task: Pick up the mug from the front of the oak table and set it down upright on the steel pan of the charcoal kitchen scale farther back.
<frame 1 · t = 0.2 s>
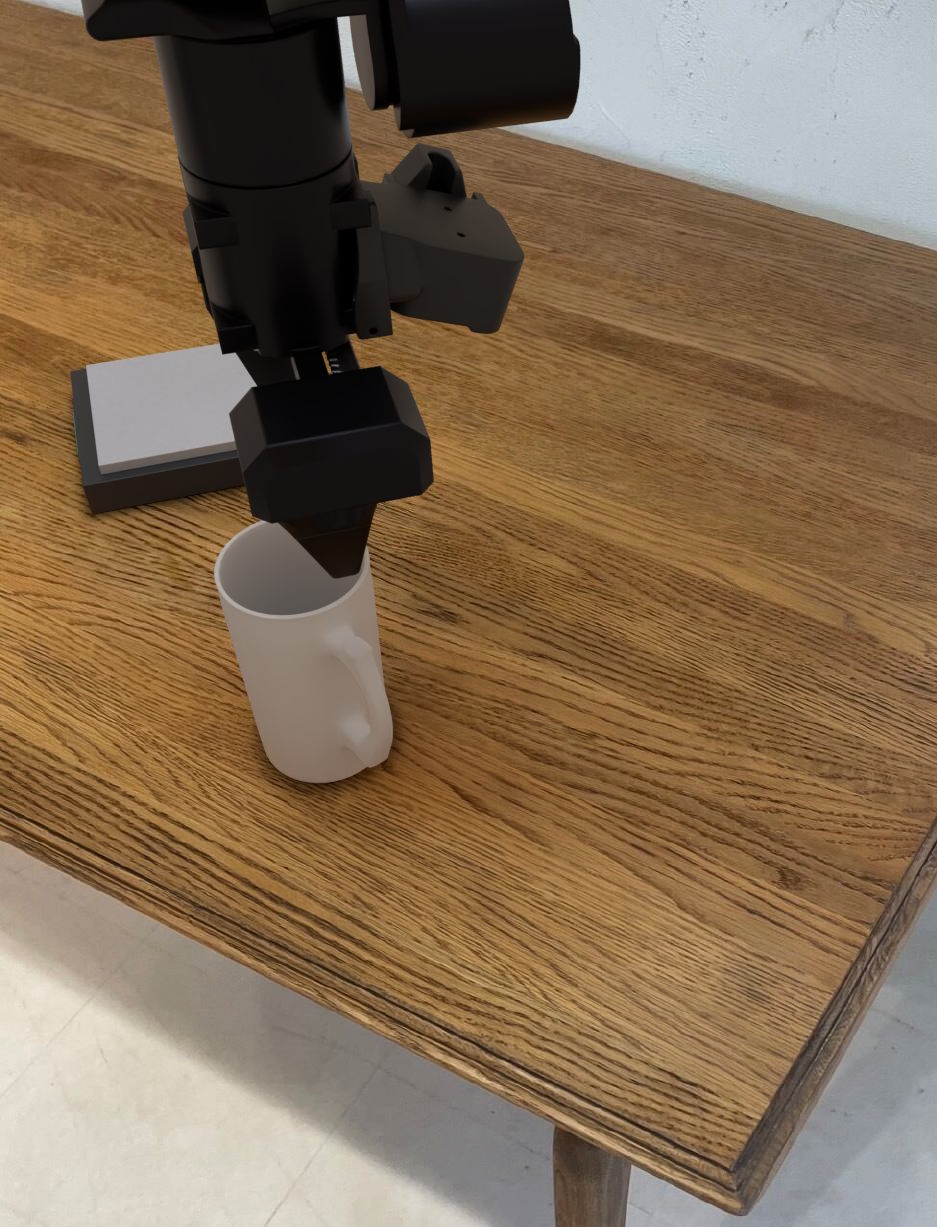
hand: (324, 502, 55), 16 cm above the table, tool pointing down, fingers open, 9 cm apart
scale: (184, 436, 82), on the table
mug: (344, 757, 65), on the table
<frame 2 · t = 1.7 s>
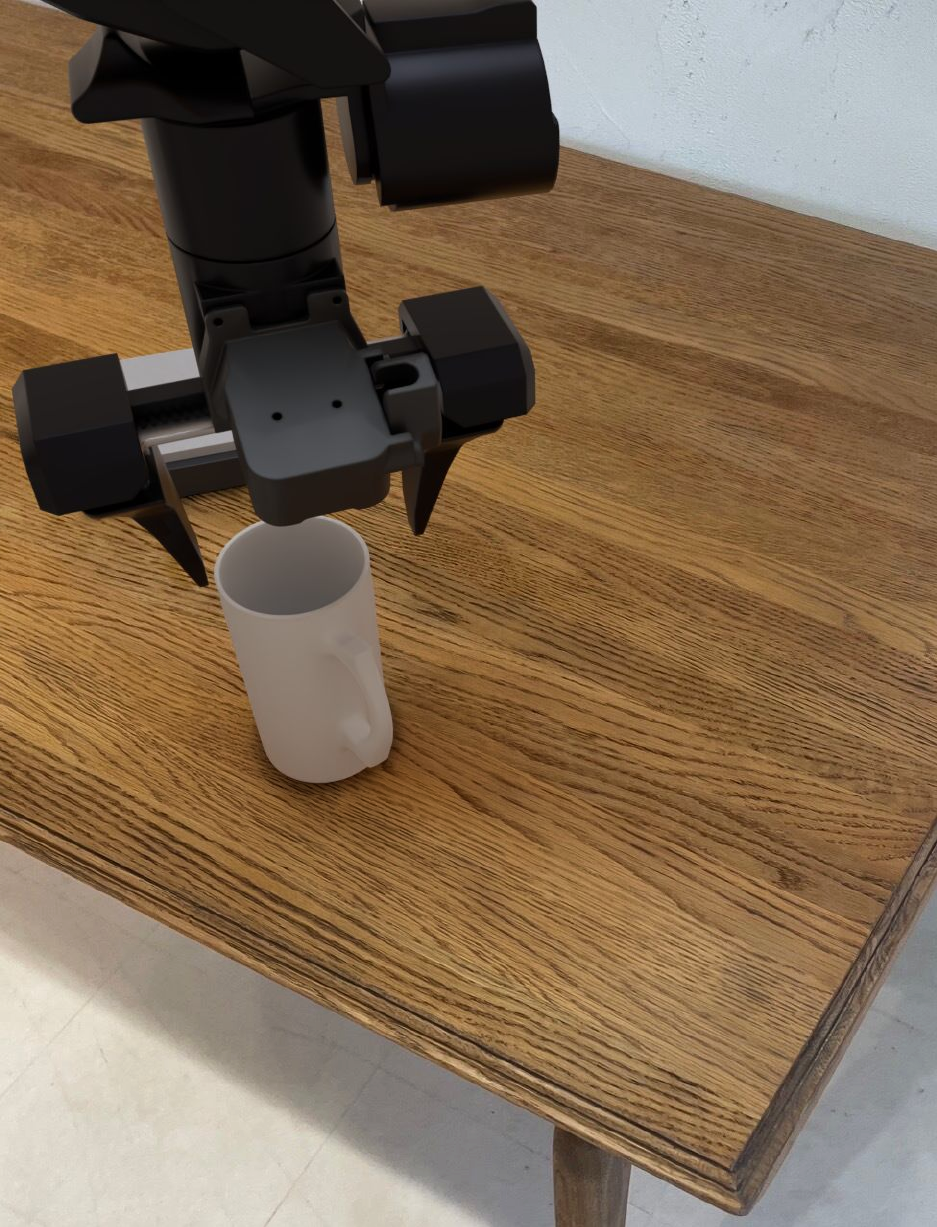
hand: (312, 554, 56), 13 cm above the table, tool pointing down, fingers open, 9 cm apart
nothing on the table moved.
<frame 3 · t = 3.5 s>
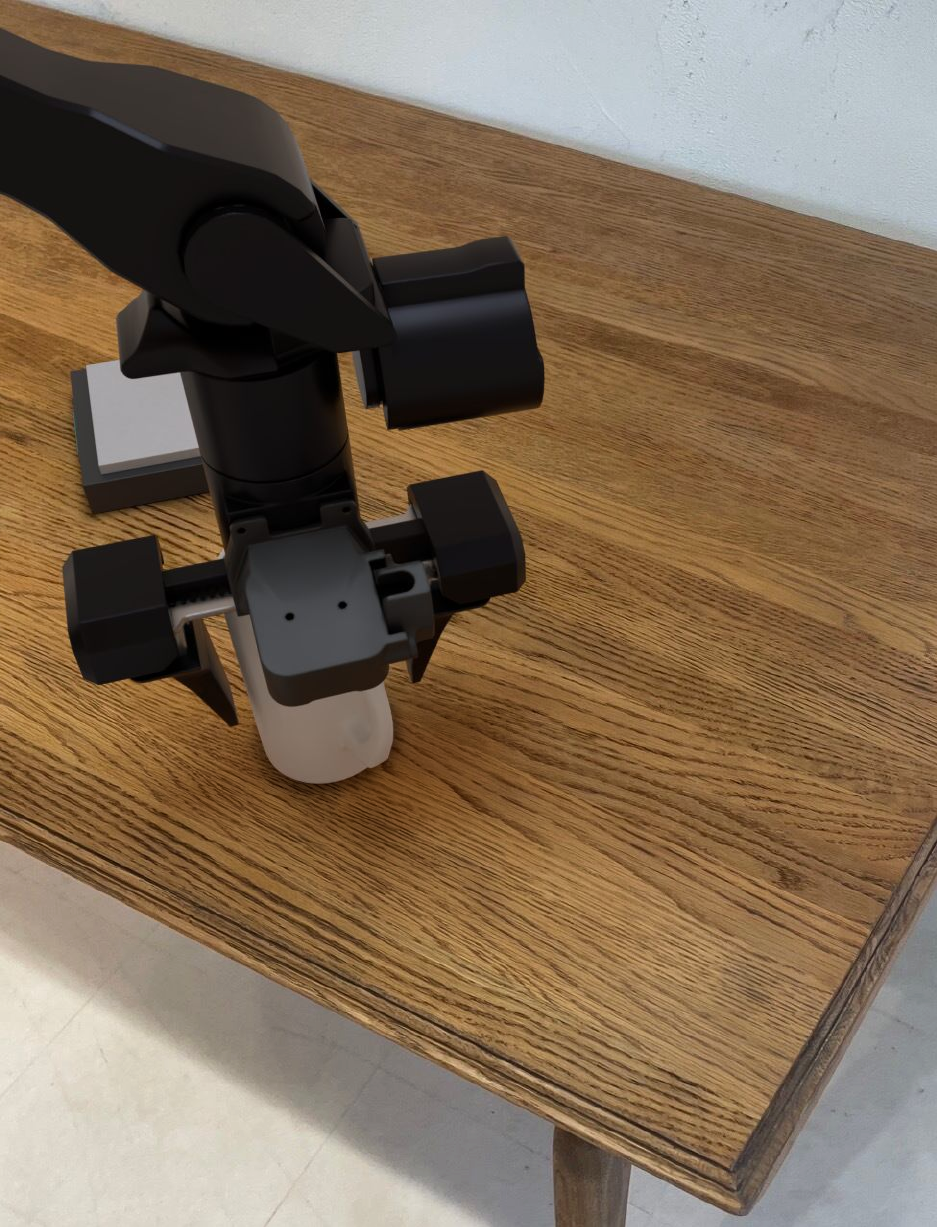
hand: (325, 697, 62), 5 cm above the table, tool pointing down, fingers closed on mug, 8 cm apart
mug: (344, 758, 65), on the table, touching gripper
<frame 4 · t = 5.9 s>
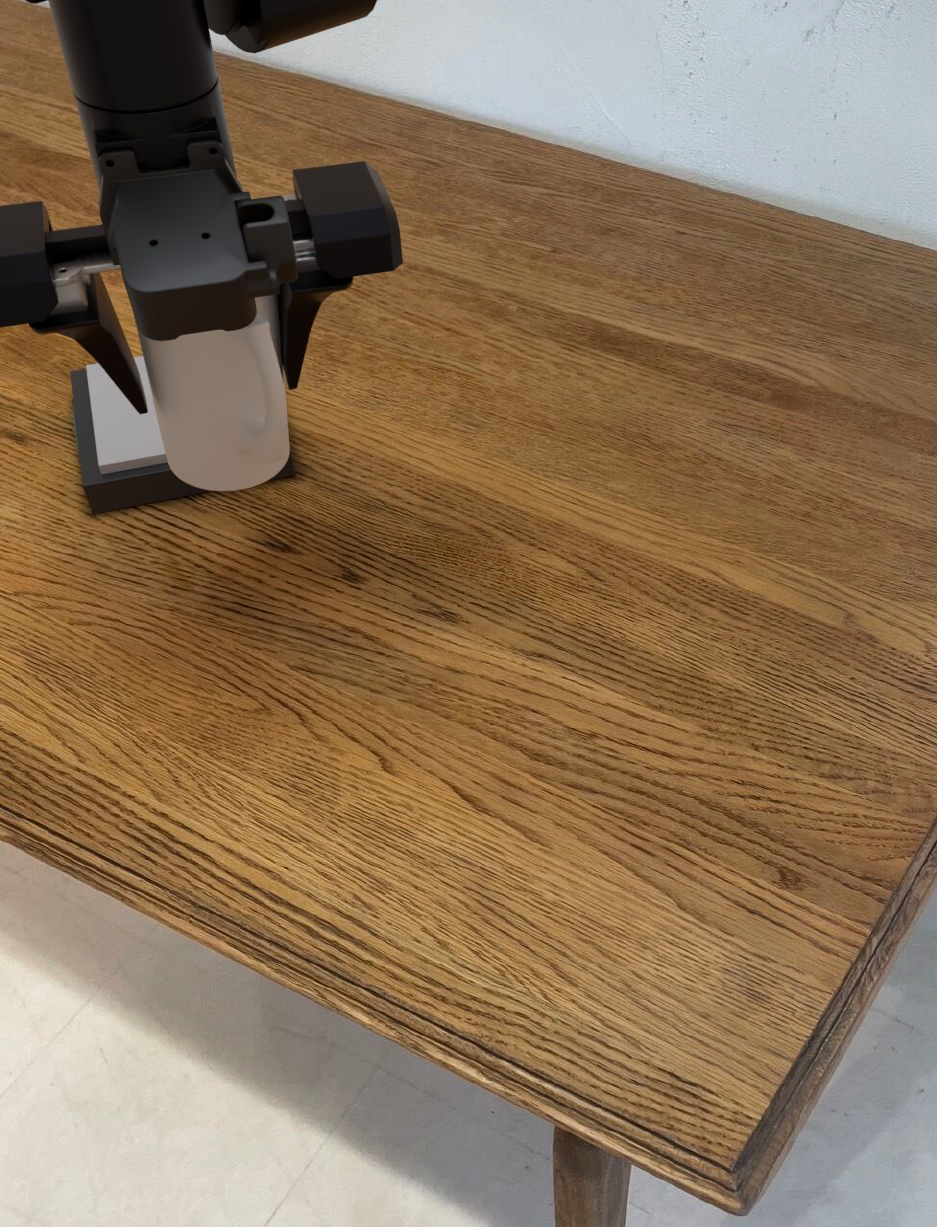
hand: (218, 397, 64), 13 cm above the table, tool pointing down, fingers closed on mug, 7 cm apart
mug: (245, 474, 67), point 8 cm above the table, touching gripper
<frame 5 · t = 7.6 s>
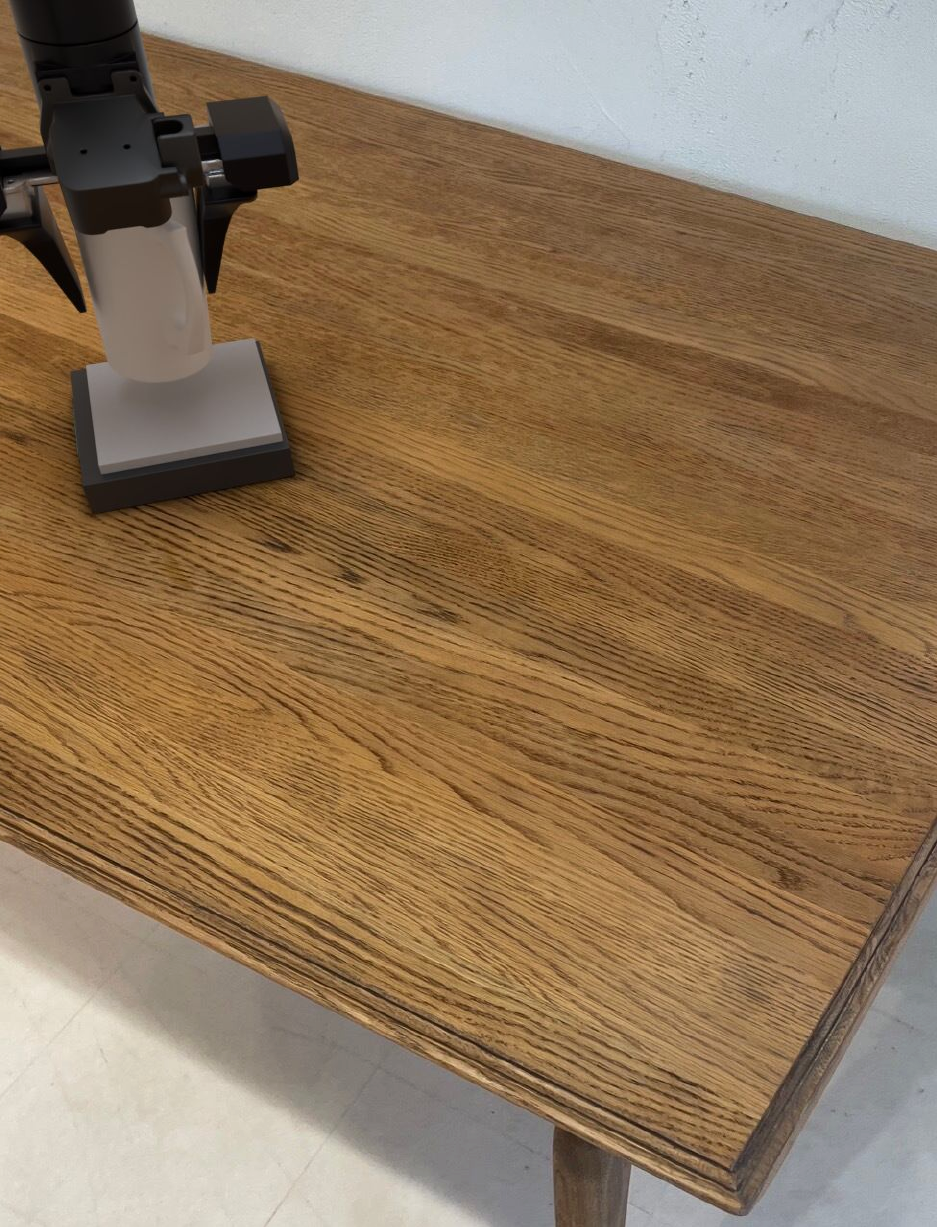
hand: (147, 299, 75), 10 cm above the table, tool pointing down, fingers closed on mug, 7 cm apart
mug: (173, 370, 79), point 5 cm above the table, touching gripper
when the fingers open (8 cm above the table, at t = 8.6 s): mug stays where it is, resting on scale.
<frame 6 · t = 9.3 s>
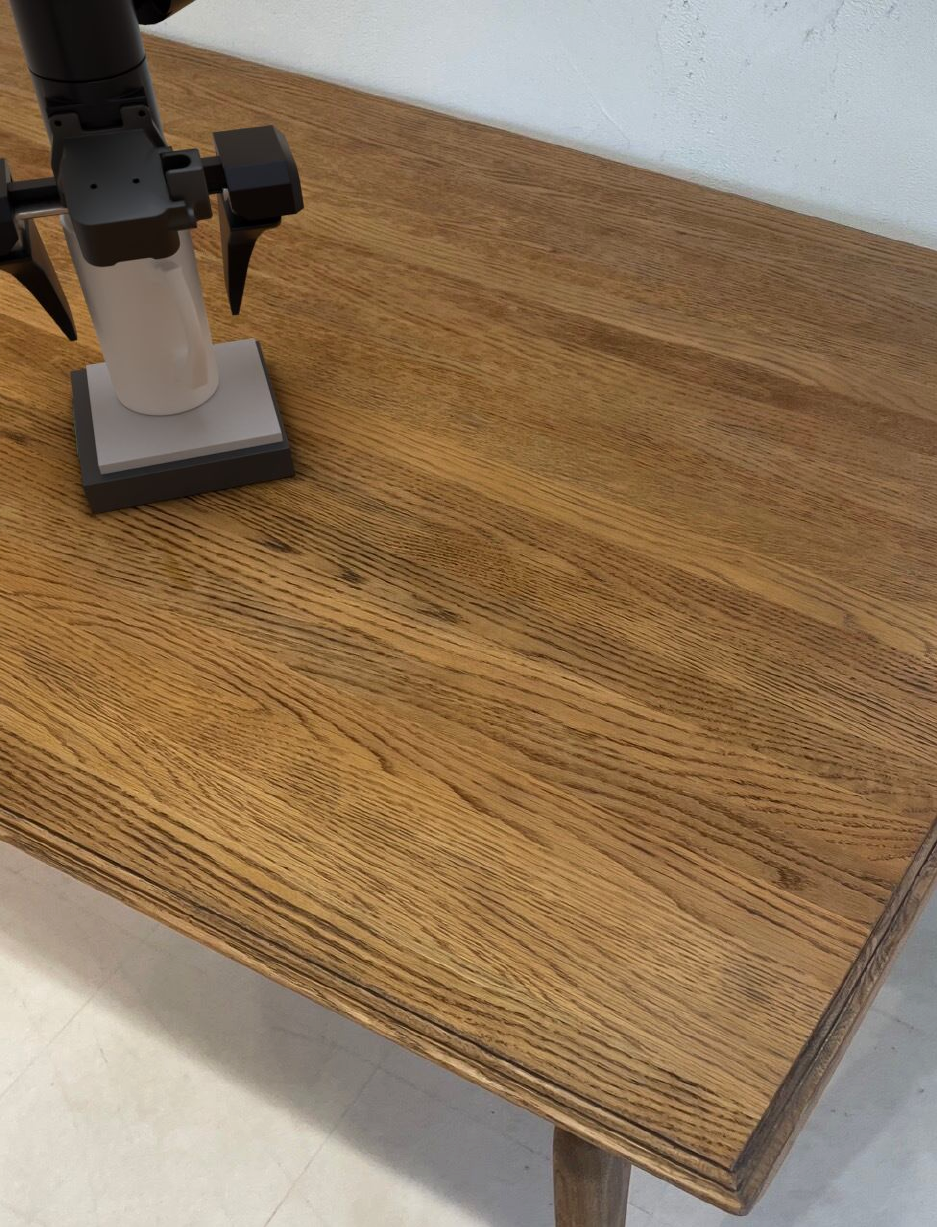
hand: (155, 324, 76), 8 cm above the table, tool pointing down, fingers open, 9 cm apart
mug: (181, 401, 80), point 3 cm above the table, touching scale
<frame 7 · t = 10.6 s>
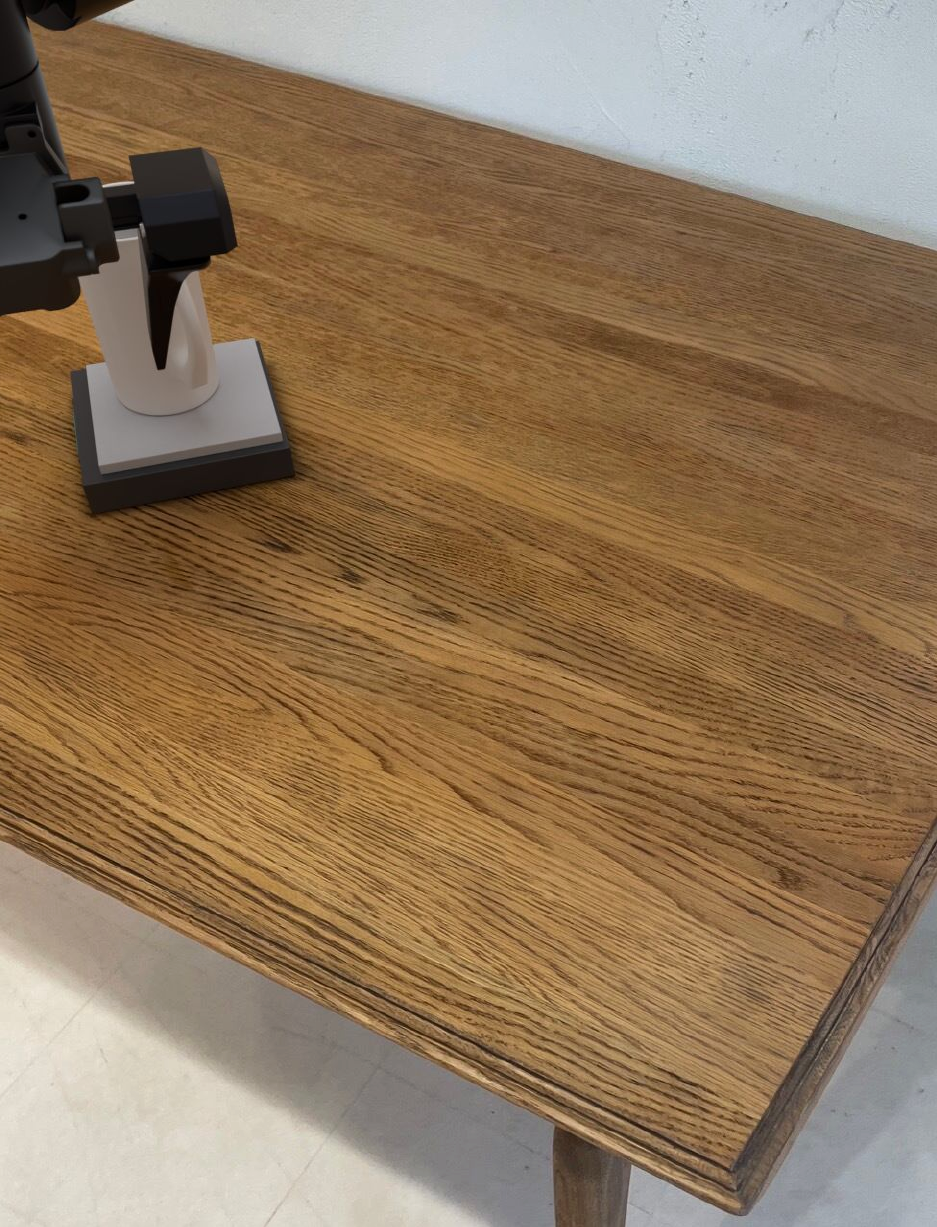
hand: (65, 381, 65), 13 cm above the table, tool pointing down, fingers open, 9 cm apart
nothing on the table moved.
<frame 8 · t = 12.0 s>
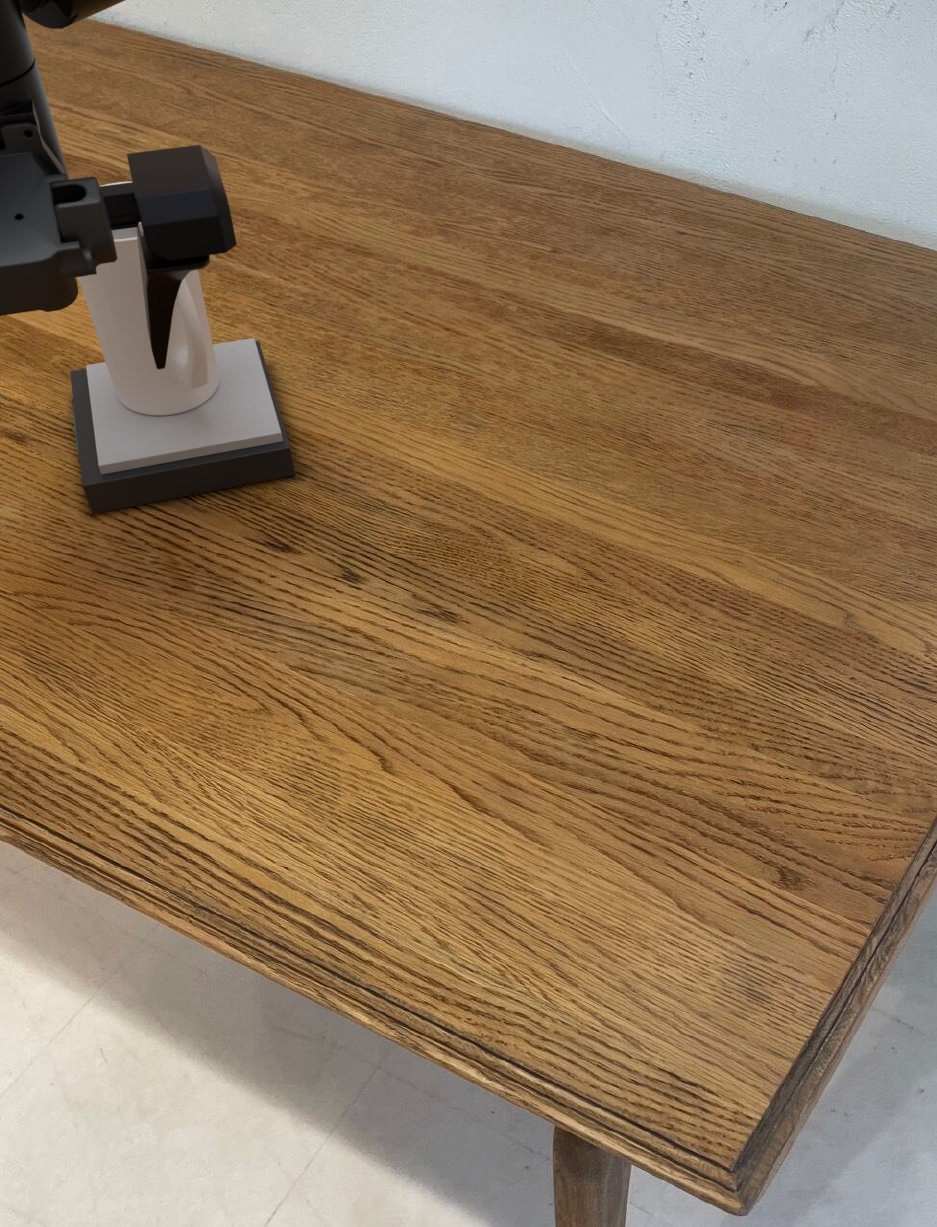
hand: (64, 380, 64), 13 cm above the table, tool pointing down, fingers open, 9 cm apart
nothing on the table moved.
at the end: mug inside the target area on the scale (0.3 cm from its centre), point 2.7 cm above the scale's base; mug tilted 0°; the gripper is holding nothing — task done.
